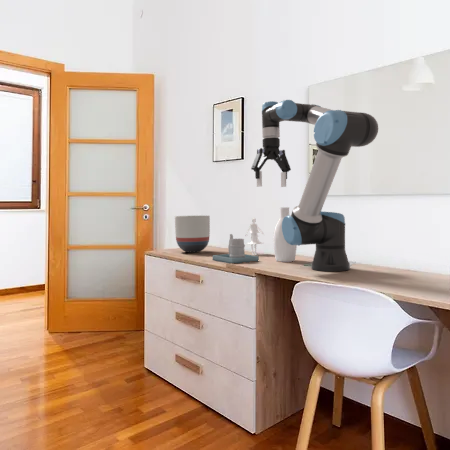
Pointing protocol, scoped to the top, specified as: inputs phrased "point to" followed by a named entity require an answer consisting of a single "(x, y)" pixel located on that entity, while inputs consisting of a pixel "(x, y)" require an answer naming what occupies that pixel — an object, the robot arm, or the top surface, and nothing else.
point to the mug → (236, 247)
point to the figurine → (254, 235)
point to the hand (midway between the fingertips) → (271, 186)
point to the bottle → (283, 241)
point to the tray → (227, 258)
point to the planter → (192, 232)
